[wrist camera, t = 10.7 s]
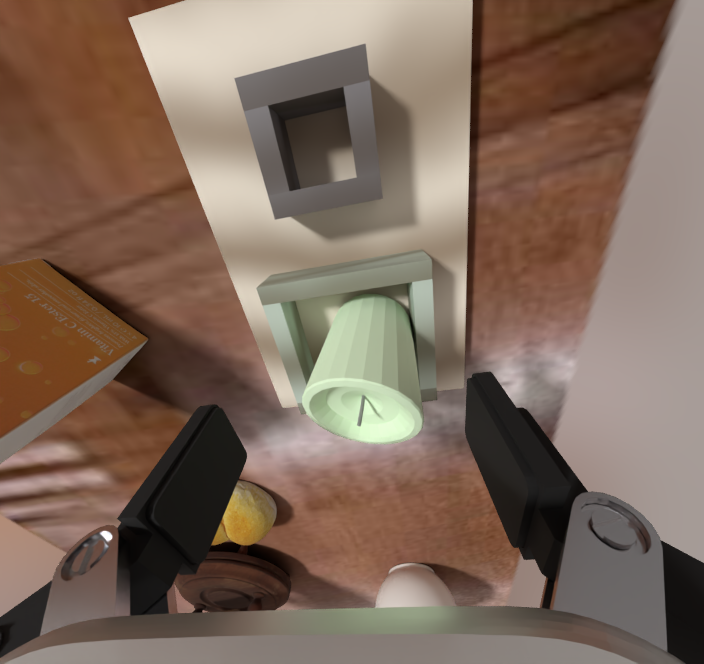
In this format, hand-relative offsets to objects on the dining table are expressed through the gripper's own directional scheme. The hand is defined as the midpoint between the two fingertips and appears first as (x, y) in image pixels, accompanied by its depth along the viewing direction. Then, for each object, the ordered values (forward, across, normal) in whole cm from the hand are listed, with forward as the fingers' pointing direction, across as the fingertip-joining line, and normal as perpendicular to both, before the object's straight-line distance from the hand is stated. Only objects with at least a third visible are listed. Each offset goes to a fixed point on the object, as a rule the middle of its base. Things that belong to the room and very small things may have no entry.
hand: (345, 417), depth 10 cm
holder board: (+9, 0, -4) cm, 10 cm away
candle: (+8, -1, +1) cm, 8 cm away
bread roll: (+9, +17, +20) cm, 28 cm away
